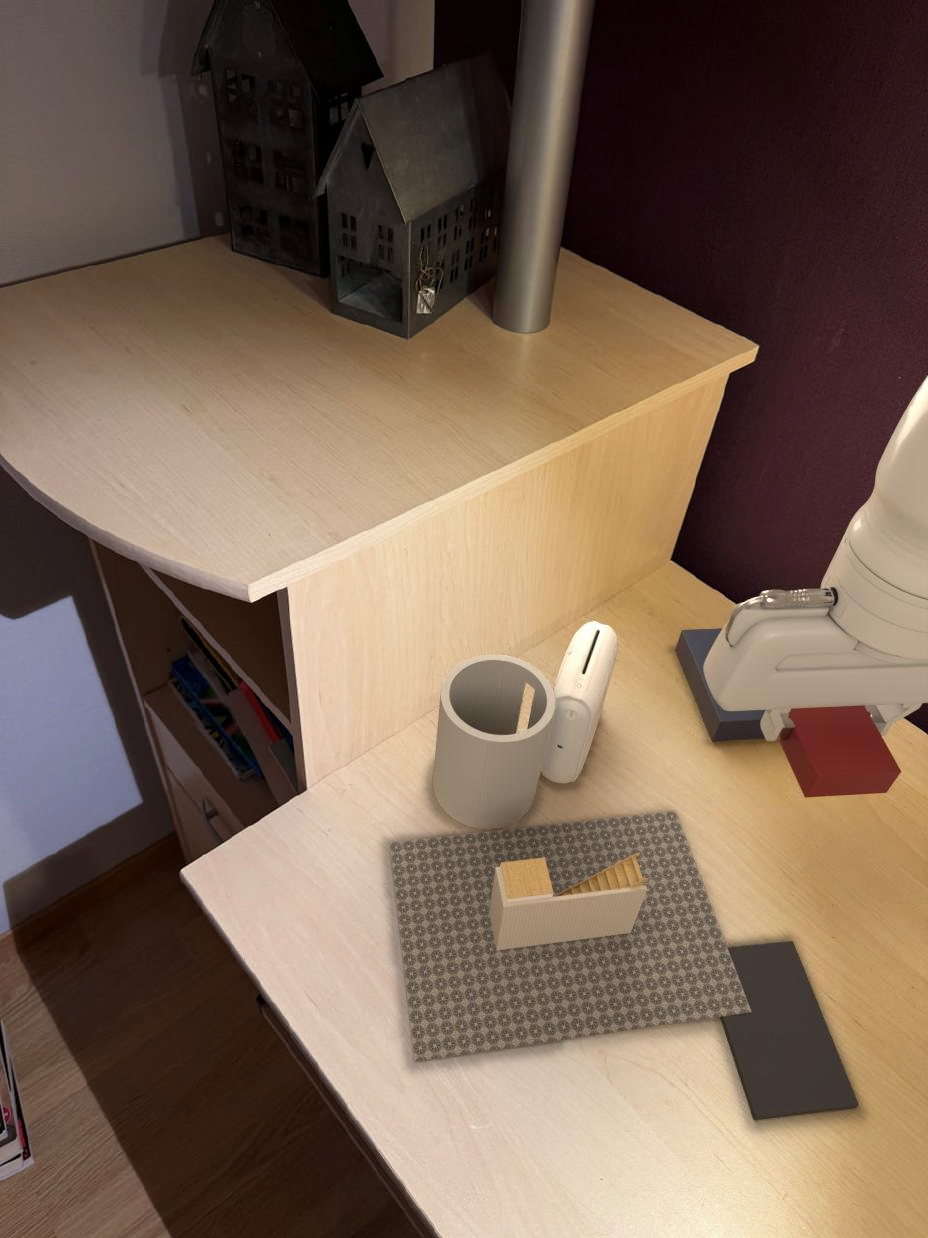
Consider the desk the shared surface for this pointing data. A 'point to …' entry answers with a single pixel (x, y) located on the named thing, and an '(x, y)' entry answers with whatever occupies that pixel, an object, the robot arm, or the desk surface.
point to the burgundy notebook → (838, 752)
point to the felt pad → (783, 1038)
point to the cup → (490, 740)
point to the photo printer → (579, 700)
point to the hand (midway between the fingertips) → (821, 731)
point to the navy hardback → (717, 720)
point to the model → (557, 935)
